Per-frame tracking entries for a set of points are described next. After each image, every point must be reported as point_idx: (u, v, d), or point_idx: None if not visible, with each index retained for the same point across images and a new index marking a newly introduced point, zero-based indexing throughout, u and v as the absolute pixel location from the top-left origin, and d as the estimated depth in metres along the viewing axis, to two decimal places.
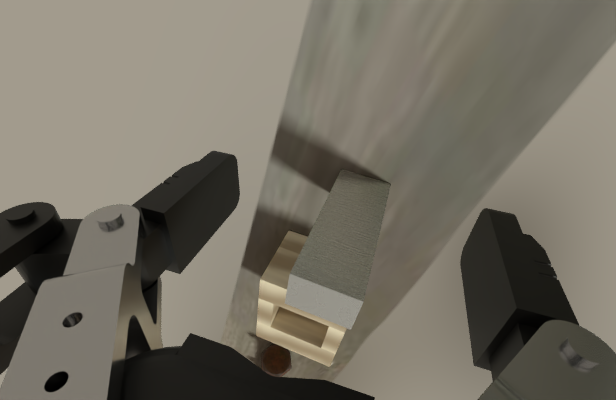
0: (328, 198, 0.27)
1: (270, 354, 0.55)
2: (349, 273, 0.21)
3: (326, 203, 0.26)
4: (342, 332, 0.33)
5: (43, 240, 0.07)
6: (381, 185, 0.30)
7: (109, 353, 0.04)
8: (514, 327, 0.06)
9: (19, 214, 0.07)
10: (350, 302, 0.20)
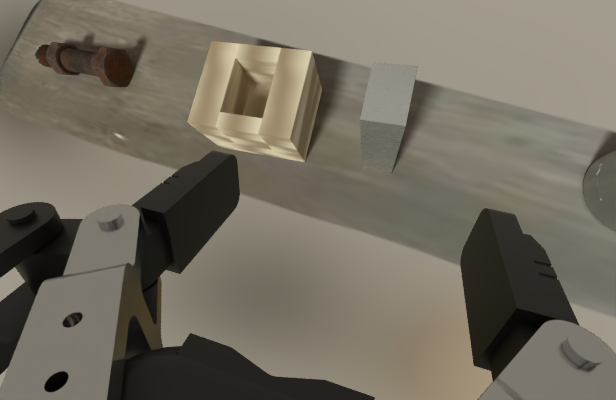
0: None
1: (124, 60, 0.45)
2: None
3: None
4: (257, 131, 0.33)
5: (43, 240, 0.07)
6: None
7: (109, 353, 0.04)
8: (514, 327, 0.06)
9: (20, 214, 0.07)
10: (400, 116, 0.24)
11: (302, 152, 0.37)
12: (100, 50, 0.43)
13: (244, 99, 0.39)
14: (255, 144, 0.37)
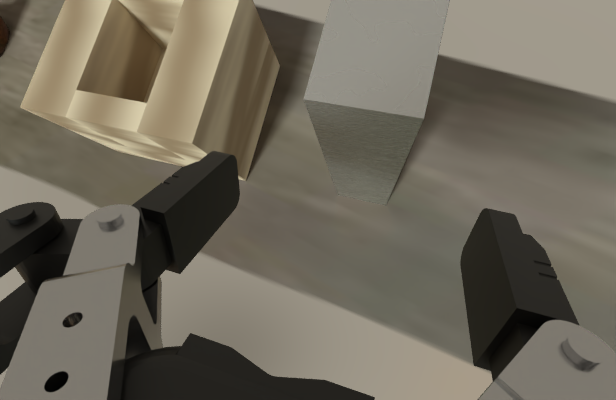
0: None
1: None
2: None
3: None
4: (136, 127, 0.17)
5: (43, 240, 0.07)
6: None
7: (109, 353, 0.04)
8: (514, 327, 0.06)
9: (19, 214, 0.07)
10: (410, 92, 0.09)
11: None
12: None
13: (147, 74, 0.23)
14: (155, 150, 0.22)
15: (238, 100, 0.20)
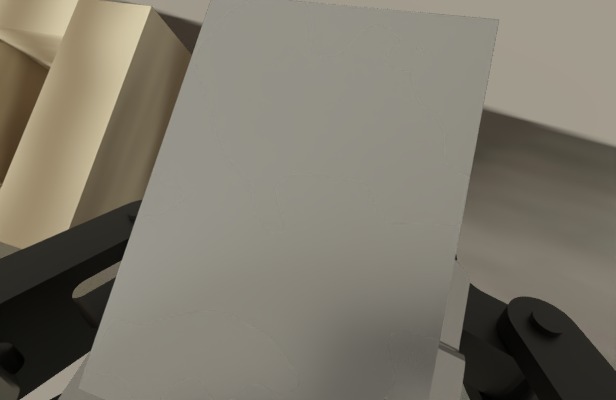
0: None
1: None
2: None
3: None
4: None
5: None
6: None
7: None
8: None
9: (138, 210, 0.07)
10: None
11: None
12: None
13: None
14: None
15: None
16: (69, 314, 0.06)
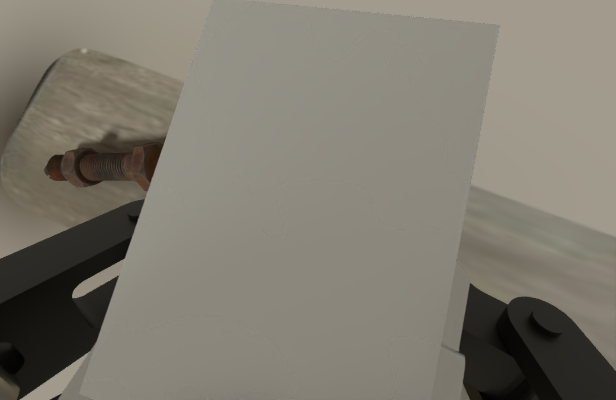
0: None
1: None
2: None
3: None
4: None
5: None
6: None
7: None
8: None
9: (138, 210, 0.07)
10: None
11: None
12: (135, 151, 0.34)
13: None
14: None
15: None
16: (69, 314, 0.06)
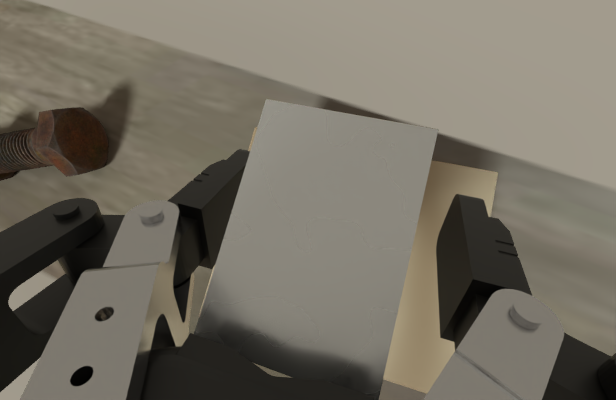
0: None
1: (88, 124, 0.26)
2: None
3: None
4: None
5: (88, 235, 0.07)
6: None
7: (133, 353, 0.04)
8: (472, 298, 0.07)
9: (65, 209, 0.07)
10: (356, 354, 0.05)
11: None
12: (41, 118, 0.23)
13: None
14: None
15: None
16: (8, 323, 0.06)
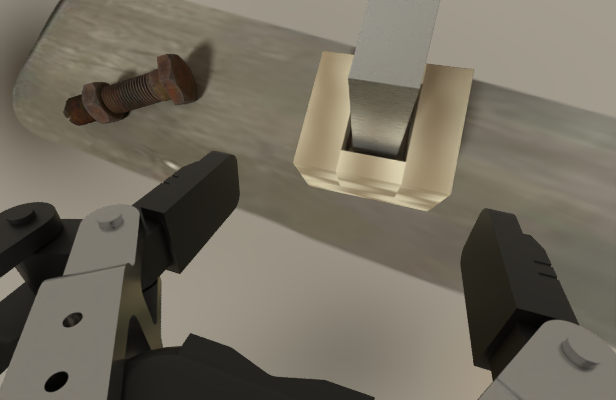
0: None
1: (184, 68, 0.35)
2: None
3: None
4: (400, 181, 0.23)
5: (43, 240, 0.07)
6: None
7: (109, 353, 0.04)
8: (514, 327, 0.06)
9: (20, 214, 0.07)
10: (412, 73, 0.15)
11: None
12: (159, 60, 0.33)
13: None
14: (374, 191, 0.27)
15: None
16: None
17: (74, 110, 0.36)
